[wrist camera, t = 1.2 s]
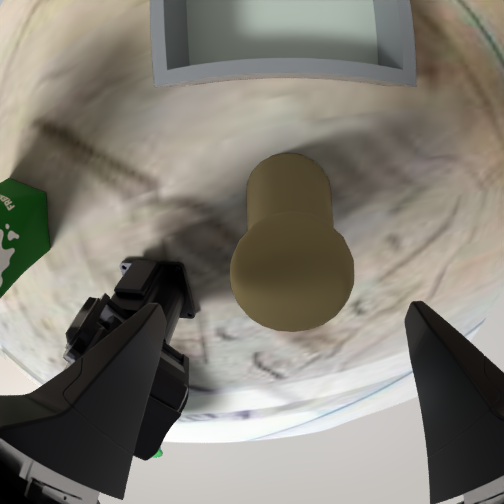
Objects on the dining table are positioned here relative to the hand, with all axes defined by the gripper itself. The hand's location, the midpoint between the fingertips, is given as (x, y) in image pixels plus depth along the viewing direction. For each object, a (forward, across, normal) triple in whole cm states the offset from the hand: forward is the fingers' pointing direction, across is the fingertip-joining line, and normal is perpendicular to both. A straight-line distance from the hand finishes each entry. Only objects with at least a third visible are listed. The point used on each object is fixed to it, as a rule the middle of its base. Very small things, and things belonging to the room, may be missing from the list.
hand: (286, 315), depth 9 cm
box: (+12, -1, -15) cm, 19 cm away
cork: (+12, 0, 0) cm, 12 cm away
